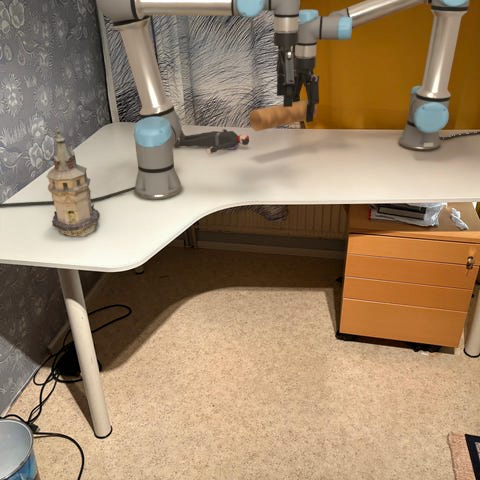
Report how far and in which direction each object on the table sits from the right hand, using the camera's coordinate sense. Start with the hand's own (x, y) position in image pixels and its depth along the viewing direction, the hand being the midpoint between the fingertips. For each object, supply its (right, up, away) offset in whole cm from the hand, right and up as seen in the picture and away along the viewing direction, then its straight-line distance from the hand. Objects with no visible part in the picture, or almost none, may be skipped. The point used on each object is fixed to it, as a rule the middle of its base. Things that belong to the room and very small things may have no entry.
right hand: (302, 118), depth 204 cm
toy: (-35, -9, +11) cm, 38 cm away
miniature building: (-71, -43, -48) cm, 96 cm away
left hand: (-9, -1, -30) cm, 31 cm away
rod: (-8, -3, -4) cm, 9 cm away
